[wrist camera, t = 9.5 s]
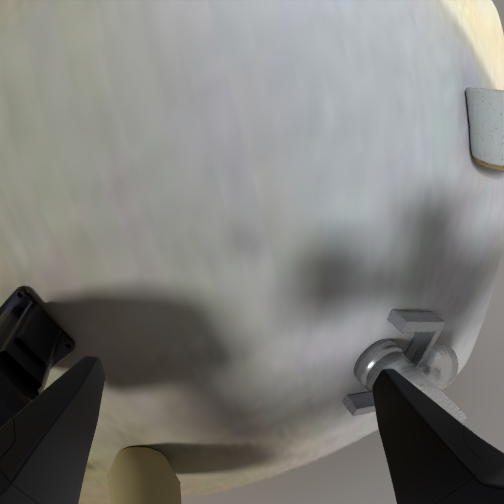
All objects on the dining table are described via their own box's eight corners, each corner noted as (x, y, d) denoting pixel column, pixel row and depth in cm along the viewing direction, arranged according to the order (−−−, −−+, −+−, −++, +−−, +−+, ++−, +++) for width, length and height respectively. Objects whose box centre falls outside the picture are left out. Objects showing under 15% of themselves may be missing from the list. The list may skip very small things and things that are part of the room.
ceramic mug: (459, 164, 25) (520, 179, 18) (452, 86, 21) (515, 88, 14) (499, 156, 27) (548, 168, 20) (494, 93, 23) (544, 98, 16)
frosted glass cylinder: (361, 386, 32) (422, 463, 20) (347, 362, 29) (420, 451, 17) (398, 356, 32) (466, 424, 20) (390, 329, 29) (471, 404, 18)
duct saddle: (342, 402, 32) (367, 436, 26) (392, 309, 28) (429, 341, 23) (404, 390, 36) (427, 416, 30) (448, 312, 32) (479, 335, 27)
